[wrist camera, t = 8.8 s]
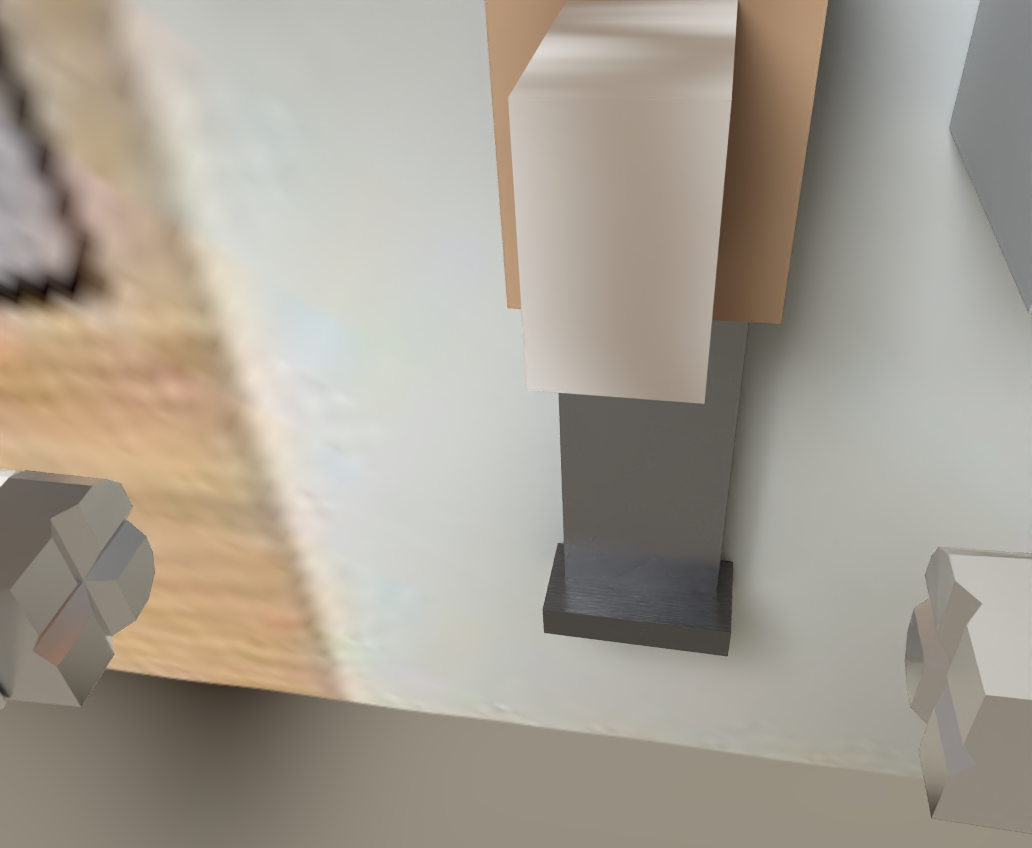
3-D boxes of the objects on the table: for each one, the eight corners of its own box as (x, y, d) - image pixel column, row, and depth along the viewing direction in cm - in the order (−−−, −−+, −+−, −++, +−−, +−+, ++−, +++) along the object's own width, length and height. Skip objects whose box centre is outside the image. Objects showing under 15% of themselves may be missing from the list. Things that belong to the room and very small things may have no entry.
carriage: (532, 246, 23) (451, 449, 17) (513, -121, 18) (388, -20, 12) (779, 256, 22) (786, 479, 16) (831, -132, 17) (873, -26, 11)
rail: (558, 566, 33) (544, 632, 30) (523, -300, 18) (487, -297, 15) (729, 585, 32) (727, 656, 29) (849, -324, 16) (864, -325, 14)
